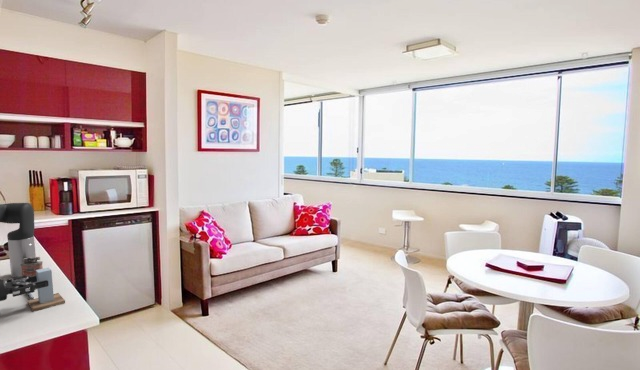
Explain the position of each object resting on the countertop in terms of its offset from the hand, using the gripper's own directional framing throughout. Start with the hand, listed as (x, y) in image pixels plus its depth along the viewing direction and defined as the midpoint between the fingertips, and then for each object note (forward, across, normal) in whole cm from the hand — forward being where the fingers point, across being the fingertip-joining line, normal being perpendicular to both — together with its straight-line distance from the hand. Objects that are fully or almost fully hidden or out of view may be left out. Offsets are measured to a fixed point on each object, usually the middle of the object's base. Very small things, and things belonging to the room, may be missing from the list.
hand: (45, 279), depth 135 cm
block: (0, 0, +8) cm, 8 cm away
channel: (0, +14, +9) cm, 17 cm away
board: (0, 0, +9) cm, 9 cm away
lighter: (+1, +34, +9) cm, 35 cm away
